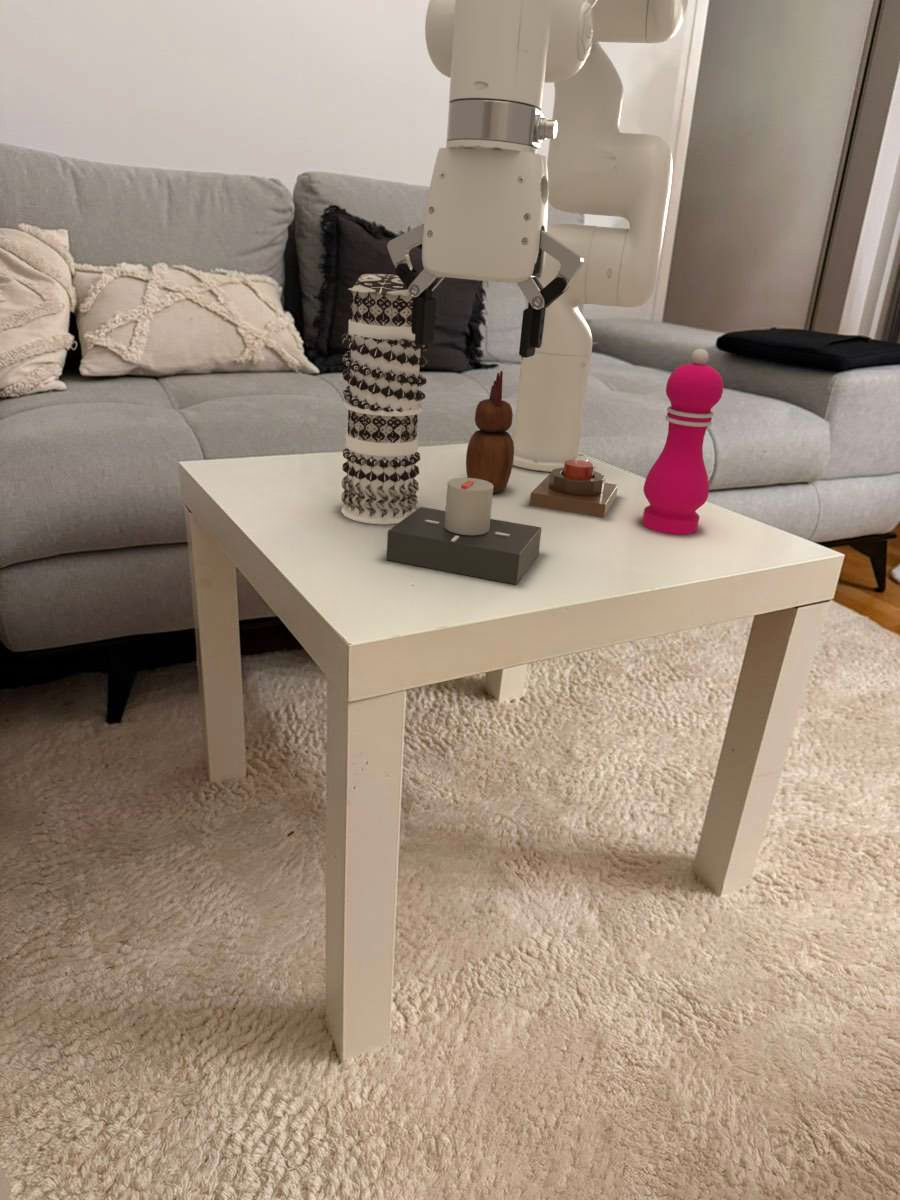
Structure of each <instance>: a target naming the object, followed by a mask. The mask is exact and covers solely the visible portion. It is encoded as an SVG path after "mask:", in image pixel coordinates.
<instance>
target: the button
mask: <svg viewBox="0 0 900 1200" xmlns="http://www.w3.org/2000/svg"><path fill="white" fill-rule="evenodd" d="M593 471H595V464H594V463H593V462H591V461H588V462H587V461H582V460H567V461H565V462H564V470H563V475H564V476H567V477H570V478H576V479H591V478H592V477H593Z"/></svg>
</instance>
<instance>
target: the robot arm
mask: <svg viewBox="0 0 900 1200" xmlns="http://www.w3.org/2000/svg"><path fill="white" fill-rule="evenodd" d="M688 2H689V0H429V2H428V4H427V10H426V14H425V25H424V30H425V31H424V35H425V44H426V49H427V53H428V56H429V59H430V60H431V63H432V64H433V66H434V67H435V69H436V70H437V71H438V72H439V73H441V74H442V75H443V76H445V77H447V78H450V82H449V97H448V111H447V112H448V115H447V132H446V144H445V147H439V148H438V150H437V155H436V158H435V163H434V166H433V170H432V175H431V180H430V184H429V190H428V194H427V201H426V209H425V216H424V223H421V224H420V225H418V226H416V227H413V228H412V229H409V230H408V231H406V232H404V233H402V234H400V235H398V236H396V237H394V238H392V239H390V240H389V241H388V242H387V245H386V248H387V252H388V254H389V256H390V260H391V261H392V264H393V266H394V268H395V275H397V276H398V277H399V278H400V280H401V281H402V282H403V284H404V285H405V286H406V287H407V289H408V292H409V294H410V296H412V297H413V310H412V327H411V330H412V334H415V344H416V345H426V344H430V345H431V344H432V343H434V342H435V328H436V315H437V314H436V313H437V299H436V297H435V296H433V292H434V290H435V289H436V288H438V286H439V285H440V284H441V282H443V280H444V279H445V278H452V279H460V280H470V281H483V282H494V283H505V284H517V286H518V287H519V289H520V290H521V292H522V293H523V295H524V297H525V309H524V310H523V312H522V321H521V331H520V338H519V339H520V340H519V350H518V355H519V356H520V357H521V358H520V370H519V378H518V388H517V398H516V408H515V415H514V425H513V426H514V427H513V436H512V440H513V444H514V459H513V466H515V467H517V468H521V469H526V470H532V471H538V472H546V473H547V472H549V473H550V472H551V471H552V470H553V469H557V468H563V467H564V462H565V461H567V460H582V461H587V462H589V458H588V456H587V455H586V454H584V453H582V452H580V451H579V449H580V443H581V434H582V427H583V418H584V411H585V405H586V404H585V403H586V398H587V397H586V396H587V390H588V388H587V387H588V382H589V374H590V366H591V358H592V352H593V335H592V331H591V328H590V326H589V324H588V322H587V321H586V319H585V317H584V316H583V314H582V312H581V311H580V309H579V305H595V306H596V305H597V306H605V307H607V306H608V307H616V308H617V307H618V308H619V307H621V308H638V307H641V306H644V305H646V303H648V301H650V299H651V297H652V295H653V294H654V290H655V287H656V283H657V279H658V273H659V268H660V261H661V255H662V247H663V242H664V235H665V229H666V223H667V216H668V209H669V203H670V196H671V188H672V180H673V154H672V150H671V147H670V144H669V143H668V141H666V140H665V139H664V138H662V137H660V136H658V135H654V134H648V133H632V132H631V133H630V132H621V131H620V122H621V116H622V115H621V114H622V107H623V101H624V86H623V81H622V80H621V76H620V74H619V72H618V71H617V68H616V66H615V65H614V63H613V61H612V60H611V58H610V57H609V55H608V54H607V53H606V51H605V50H604V48H603V47H602V45H601V44H600V43H620V44H621V43H623V44H625V43H627V44H629V43H630V44H659V43H664V42H668V41H669V40H671V39H672V38H674V36H676V34H677V33H678V31H679V30H680V29H681V26H682V25H683V22H684V20H685V17H686V13H687V8H688ZM545 83H553V85H554V101H553V108H552V109H553V110H552V119H549V118H548V117H545V116H544V112H542V109H543V100H544V91H545V90H544V89H545ZM547 139H549V144H548V152H547V156H546V155H542V154H541V153H538V150H539V149H541V144H542V143H543V141H547ZM549 205H550V206H551V207H552V208H553V209H555V210H558V211H560V212H564V213H565V212H566V213H572V214H579V215H580V214H581V215H593V216H603V217H605V216H606V217H618V218H623V219H625V220H627V221H628V223H629V228H623V227H622V228H621V227H609V226H598V225H587V224H576V223H554V224H548V222H549V220H548V219H549ZM420 245H421V262H422V267H423V269H422V270H421V271H420V272H419V271H418V270H417V269H416V267H415V266H414V264H412V261H411V258H410V252H411V250H412V249H414V248H416V247H418V246H420Z"/></svg>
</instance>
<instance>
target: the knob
mask: <svg viewBox="0 0 900 1200" xmlns="http://www.w3.org/2000/svg"><path fill="white" fill-rule="evenodd" d="M446 485H447V486H446V497H445V499H446V500H445V510H444V511H445V525H444V527H445V529H446V530H448V531H450V532H452V533H456V534H460V535H470V536H473V535H482V534H485V533H487V532H488V531H489V528H490V519H491V517H492V506H493V496H494V495H493V494H494V493H493V484H492V483H490V482H488V481H485V480H481V479H475V478H467V477H455V478H451V479H449V480H448V481H447V483H446Z"/></svg>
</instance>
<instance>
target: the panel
mask: <svg viewBox="0 0 900 1200" xmlns="http://www.w3.org/2000/svg"><path fill="white" fill-rule="evenodd" d="M445 511H446V510H441V509H436V508H432V507H431V508H430V507H425V506H420V507H418V508H417V509H416V511H414V512H413V513H412V514H410V515H409V516H408V517H406V518H405V519H403V520H402V521H401V522H399V523H396V524H395V525H394V526H392V527H391V528H390V529H388V530H387V541H386V561H389V562H396V563H401V564H406V565H410V566H417V567H421V568H428V569H432V570H437V571H442V572H447V573H454V574H457V575H464V576H470V577H474V578H479V579H483V580H484V579H485V580H490V581H495V582H501V583H506V584H510V585H517V584H518V583H519V581H520V580H521V579H522V577H524V575H525V574H526V572H527V571H528V570H529V568H530V567H531V565H532V564H533V563H534V562H535V560H536V559H537V558H538V556H539V553H540V546H541V537H542V527H540V526H537V525H536V526H535V525H530V524H523V523H517V522H511V521H507V520H500V519H494V518H490V528H489V531H488V532H487V533H485V534H482V535H473V536H470V535H460V534H456V533H452V532H450V531H448V530H446V529H445V527H444V525H445Z"/></svg>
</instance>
